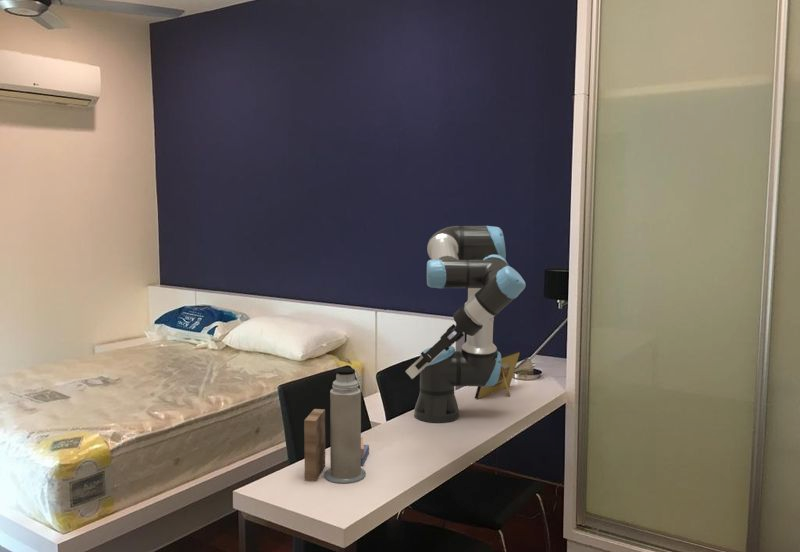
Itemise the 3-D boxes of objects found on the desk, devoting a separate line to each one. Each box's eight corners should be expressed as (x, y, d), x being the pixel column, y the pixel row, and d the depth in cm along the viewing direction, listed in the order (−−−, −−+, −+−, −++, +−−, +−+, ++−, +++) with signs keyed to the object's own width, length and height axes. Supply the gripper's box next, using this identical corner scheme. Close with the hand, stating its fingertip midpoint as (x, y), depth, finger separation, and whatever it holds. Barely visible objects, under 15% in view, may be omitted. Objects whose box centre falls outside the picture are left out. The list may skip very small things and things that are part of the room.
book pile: (343, 451, 198) (343, 436, 197) (369, 453, 197) (369, 437, 196) (335, 465, 188) (334, 448, 187) (362, 467, 187) (362, 450, 186)
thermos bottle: (331, 467, 185) (330, 365, 182) (360, 467, 185) (360, 365, 182) (329, 479, 177) (329, 373, 174) (360, 478, 177) (360, 372, 174)
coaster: (329, 466, 187) (329, 464, 187) (369, 468, 186) (369, 466, 186) (319, 482, 176) (319, 480, 176) (361, 484, 175) (361, 483, 175)
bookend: (314, 465, 187) (314, 408, 185) (325, 466, 187) (325, 409, 185) (304, 480, 177) (304, 420, 176) (316, 481, 177) (315, 421, 175)
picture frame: (506, 385, 270) (511, 349, 267) (526, 392, 265) (531, 355, 262) (474, 398, 252) (479, 359, 250) (495, 405, 247) (500, 366, 244)
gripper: (473, 336, 163) (412, 392, 169) (492, 317, 186) (439, 367, 193) (451, 313, 164) (392, 369, 170) (474, 297, 187) (421, 347, 194)
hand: (416, 368), depth 182 cm, fingers open, 13 cm apart
